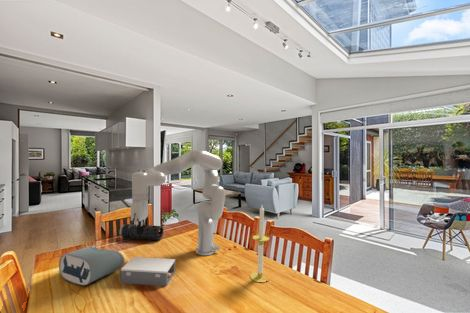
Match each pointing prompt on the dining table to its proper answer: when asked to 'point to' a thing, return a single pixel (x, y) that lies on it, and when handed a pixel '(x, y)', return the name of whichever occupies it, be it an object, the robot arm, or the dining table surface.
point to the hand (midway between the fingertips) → (140, 233)
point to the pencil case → (89, 264)
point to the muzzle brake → (149, 233)
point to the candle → (260, 248)
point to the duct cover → (148, 265)
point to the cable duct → (147, 277)
